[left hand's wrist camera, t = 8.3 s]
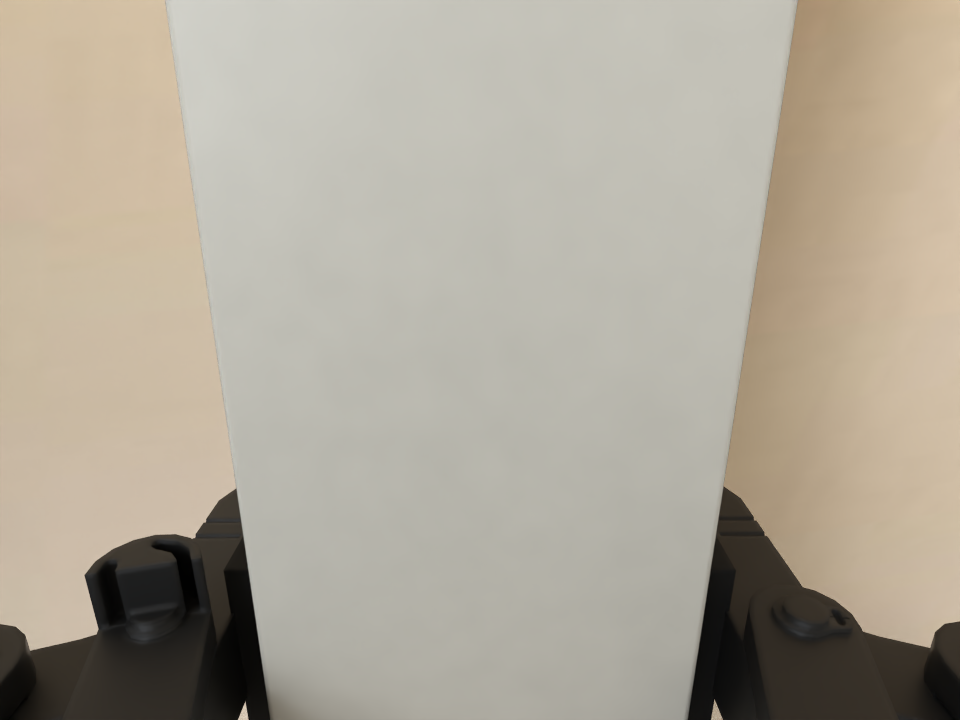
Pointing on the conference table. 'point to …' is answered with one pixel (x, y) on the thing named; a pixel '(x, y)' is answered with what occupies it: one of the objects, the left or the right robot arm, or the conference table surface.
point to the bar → (480, 335)
